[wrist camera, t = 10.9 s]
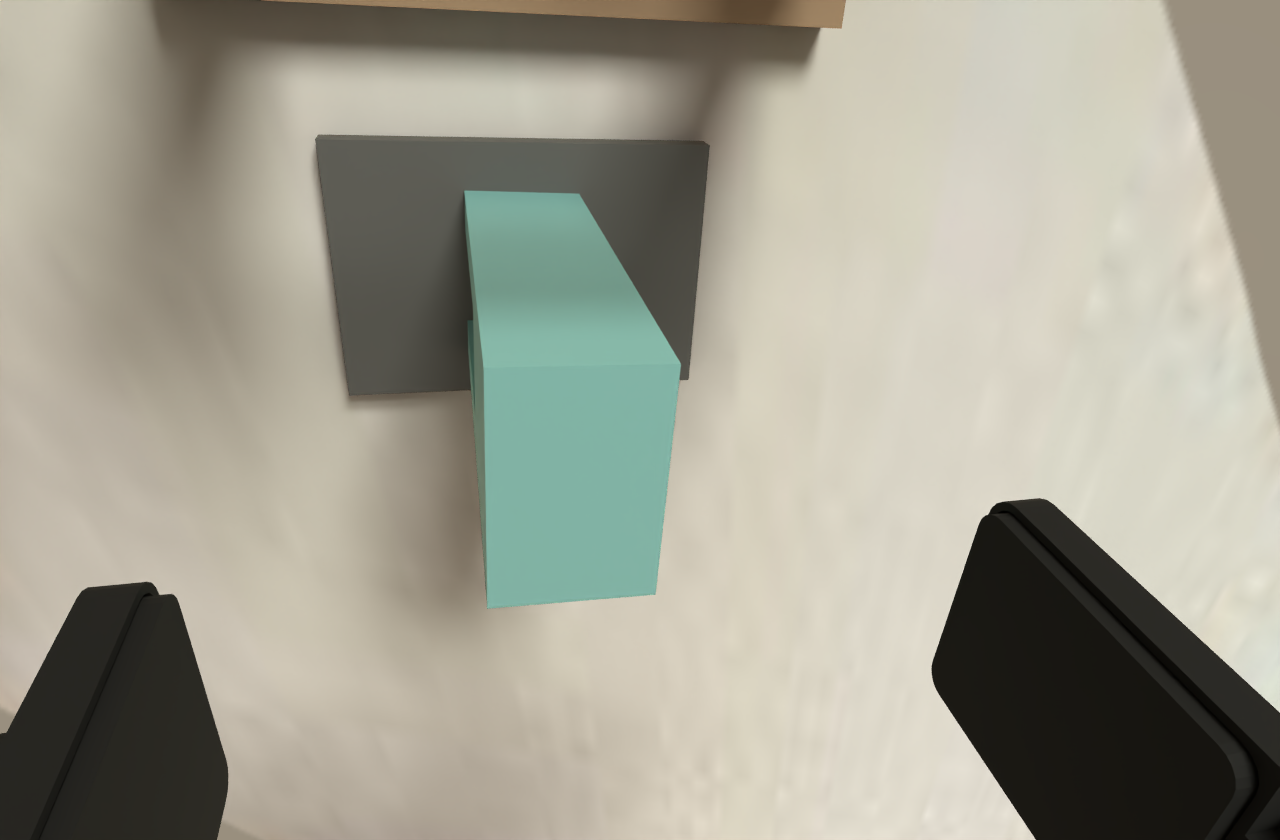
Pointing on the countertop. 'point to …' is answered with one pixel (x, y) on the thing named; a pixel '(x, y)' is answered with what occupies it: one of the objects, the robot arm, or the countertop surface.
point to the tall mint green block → (564, 405)
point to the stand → (646, 9)
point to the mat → (437, 249)
